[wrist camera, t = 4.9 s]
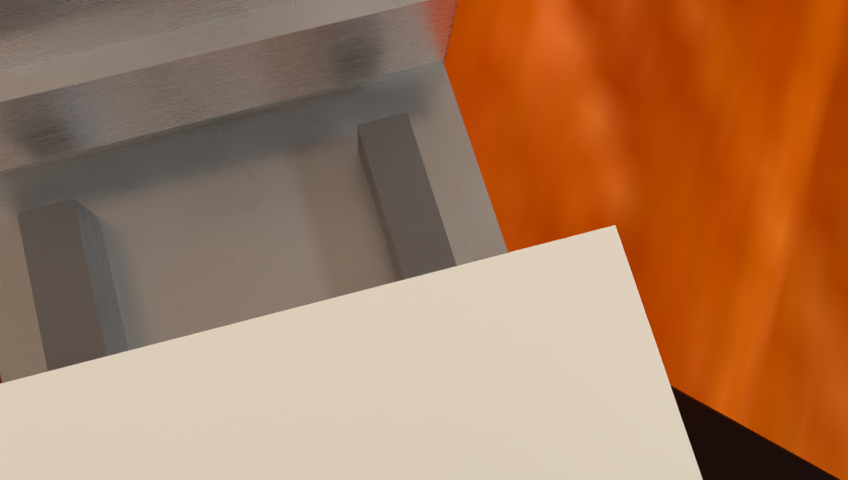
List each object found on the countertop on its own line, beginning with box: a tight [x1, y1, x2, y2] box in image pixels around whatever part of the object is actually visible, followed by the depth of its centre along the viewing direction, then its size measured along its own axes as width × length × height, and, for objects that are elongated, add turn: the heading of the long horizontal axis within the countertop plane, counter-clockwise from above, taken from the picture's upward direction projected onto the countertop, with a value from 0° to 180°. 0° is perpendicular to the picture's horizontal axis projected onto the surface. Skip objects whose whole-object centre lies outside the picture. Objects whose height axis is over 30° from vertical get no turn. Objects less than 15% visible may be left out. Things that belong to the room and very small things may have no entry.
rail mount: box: [0, 0, 508, 383], centre depth 18 cm, size 10×15×10 cm, turn 107°
